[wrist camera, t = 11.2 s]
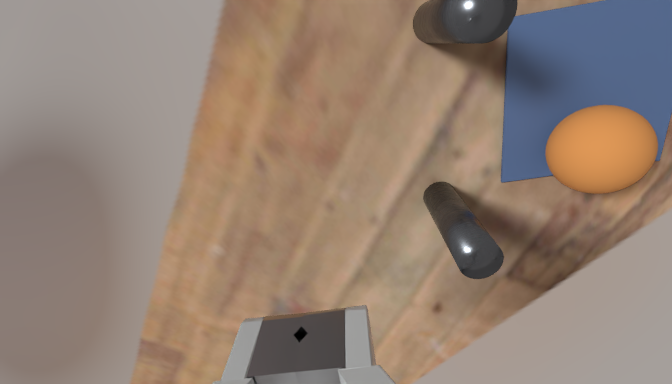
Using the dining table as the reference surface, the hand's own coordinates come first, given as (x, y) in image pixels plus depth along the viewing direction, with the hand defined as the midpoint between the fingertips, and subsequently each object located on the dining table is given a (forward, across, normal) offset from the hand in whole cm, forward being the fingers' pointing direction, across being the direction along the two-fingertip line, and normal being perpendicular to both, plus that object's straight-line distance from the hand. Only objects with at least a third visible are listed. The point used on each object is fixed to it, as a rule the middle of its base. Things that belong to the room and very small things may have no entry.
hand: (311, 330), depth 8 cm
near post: (+19, +8, +6) cm, 22 cm away
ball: (+16, +18, -3) cm, 24 cm away
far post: (+19, +8, -7) cm, 22 cm away
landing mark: (+19, +19, 0) cm, 27 cm away
